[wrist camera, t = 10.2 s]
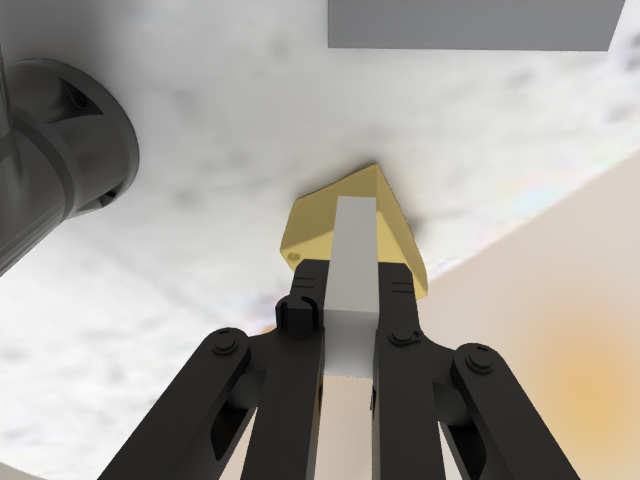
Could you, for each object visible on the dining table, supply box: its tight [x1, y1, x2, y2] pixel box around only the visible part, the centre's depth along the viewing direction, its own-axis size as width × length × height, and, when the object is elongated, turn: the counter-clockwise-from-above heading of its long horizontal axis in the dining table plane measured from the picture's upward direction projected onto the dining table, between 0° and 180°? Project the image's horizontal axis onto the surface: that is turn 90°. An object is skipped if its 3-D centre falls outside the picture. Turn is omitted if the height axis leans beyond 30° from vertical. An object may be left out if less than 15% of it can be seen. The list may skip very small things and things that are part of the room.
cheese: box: [280, 163, 428, 300], centre depth 41 cm, size 10×11×10 cm
